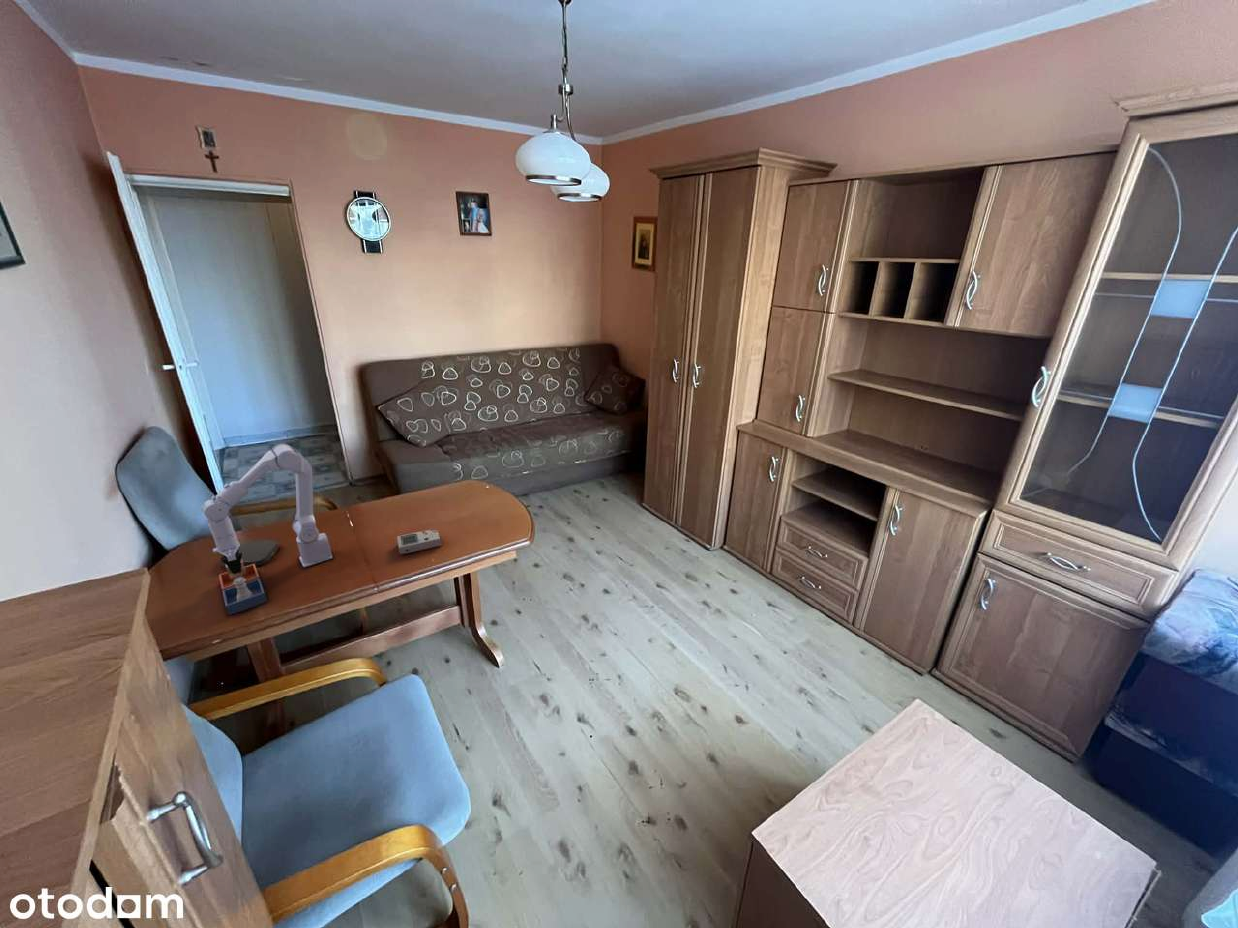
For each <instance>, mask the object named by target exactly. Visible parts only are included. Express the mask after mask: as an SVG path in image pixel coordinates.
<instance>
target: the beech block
mask: <svg viewBox="0 0 1238 928" xmlns="http://www.w3.org/2000/svg"><path fill="white" fill-rule="evenodd" d="M225 565H226V564H225ZM225 569H226V571H227V572H228V574H229V577H230V579H232V578H235V577H238V576H241V575H244V574H247V573H246V570H245V567H244V564H243V561H242V558H241V572H240V573H237V574H233V573H232V572H231V570H230V569H229V567H228V566H227V565H226V568H225Z"/></svg>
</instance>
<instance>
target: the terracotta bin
mask: <svg viewBox="0 0 1238 928" xmlns="http://www.w3.org/2000/svg"><path fill="white" fill-rule="evenodd" d="M245 570H246V573H247V574H244V575H241V576H238V577H235V578H232V579H230V577H229V574H228V571H227V572H224V573H221V574H220V573H219V574H218V580H219V582H220V587H221V588H220V589H221V591H222V590H225V589H228V588H231V587H234V586H236V585H235V584H233V582H234V579H235V580H236V578H239V577H241V578H242V577H243V578H245V579H246V580H245V583H247V582H250V581H253V580H256V579H259V578H260V575H259V572H258V569H257V566H255V564H252V565H249V566H245Z"/></svg>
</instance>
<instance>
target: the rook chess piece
mask: <svg viewBox="0 0 1238 928" xmlns="http://www.w3.org/2000/svg"><path fill="white" fill-rule="evenodd" d="M245 580H246V579H245V578H243V577H242V578H241V577H239V578H236V580H235V579H234V582H233V584H235V585H236V586H235V587H236V588H237V591H238V594H237V601H240V600H243V599H246V598H248V597H251V596H254V595H253V593H252V592H251V591H250V590H248V588H247V587H246V583H245Z"/></svg>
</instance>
